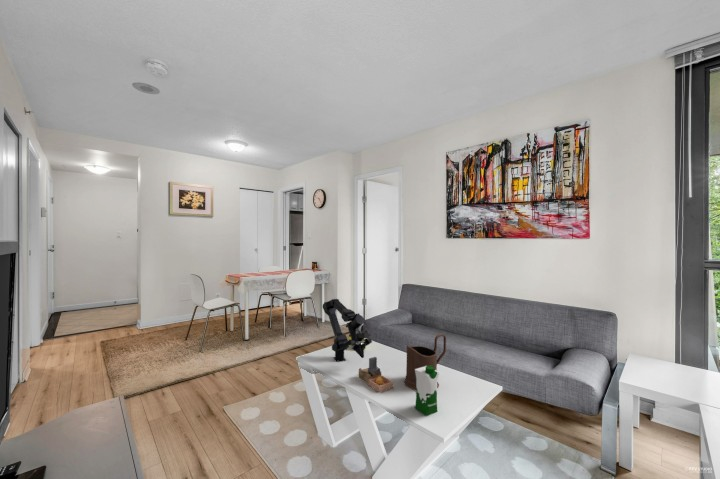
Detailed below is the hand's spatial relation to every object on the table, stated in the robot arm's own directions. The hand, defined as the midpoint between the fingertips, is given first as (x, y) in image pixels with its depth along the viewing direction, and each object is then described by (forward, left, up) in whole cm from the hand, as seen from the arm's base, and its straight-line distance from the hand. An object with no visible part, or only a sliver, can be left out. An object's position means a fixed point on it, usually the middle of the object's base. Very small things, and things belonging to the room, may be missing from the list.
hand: (362, 357), depth 177 cm
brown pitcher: (+19, +29, -10) cm, 36 cm away
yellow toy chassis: (-44, +11, -10) cm, 47 cm away
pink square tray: (+16, +4, -10) cm, 19 cm away
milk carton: (+43, +15, -10) cm, 47 cm away
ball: (+15, +4, -7) cm, 17 cm away
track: (+7, +2, -10) cm, 12 cm away
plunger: (+10, +3, -5) cm, 12 cm away
